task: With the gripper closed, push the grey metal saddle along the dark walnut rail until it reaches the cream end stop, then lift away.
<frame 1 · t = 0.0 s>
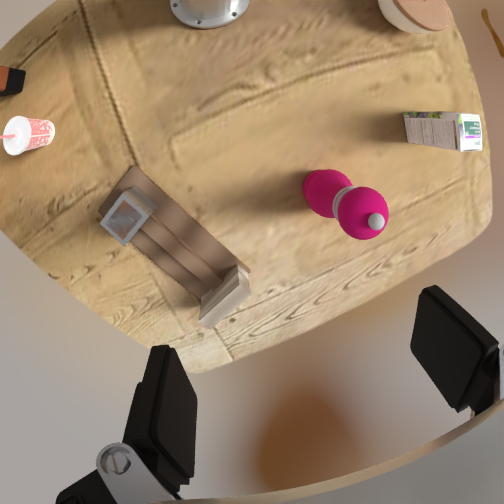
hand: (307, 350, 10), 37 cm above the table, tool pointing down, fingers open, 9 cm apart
pepper mill: (320, 188, 46), on the table
lidded bowl: (395, 13, 33), on the table
syrup box: (416, 127, 42), on the table
battery: (14, 83, 32), on the table
beverage cup: (45, 133, 37), on the table
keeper: (129, 214, 40), point 4 cm above the table, slide at 0.0 cm
rail: (173, 239, 47), on the table
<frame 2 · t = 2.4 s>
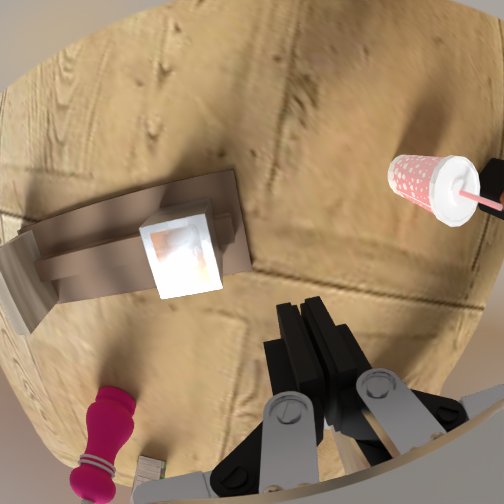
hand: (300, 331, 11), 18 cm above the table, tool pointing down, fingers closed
pepper mill: (117, 398, 36), on the table
syrup box: (150, 461, 45), on the table
battery: (485, 183, 28), on the table
beverage cup: (403, 175, 27), on the table
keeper: (186, 244, 24), point 4 cm above the table, slide at 0.0 cm
rail: (119, 246, 28), on the table
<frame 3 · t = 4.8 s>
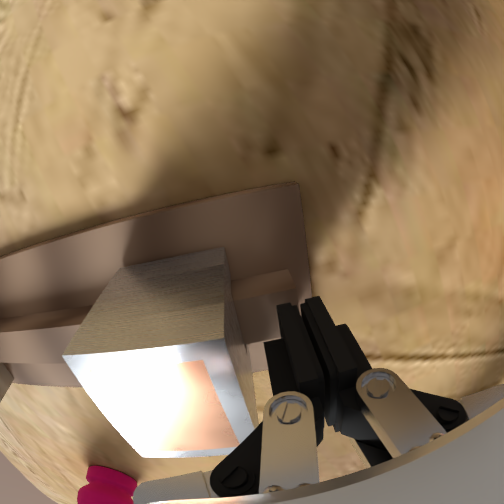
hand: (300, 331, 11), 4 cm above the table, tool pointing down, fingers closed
pepper mill: (112, 475, 23), on the table
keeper: (179, 356, 11), point 4 cm above the table, slide at 1.1 cm, touching gripper
rail: (81, 318, 14), on the table
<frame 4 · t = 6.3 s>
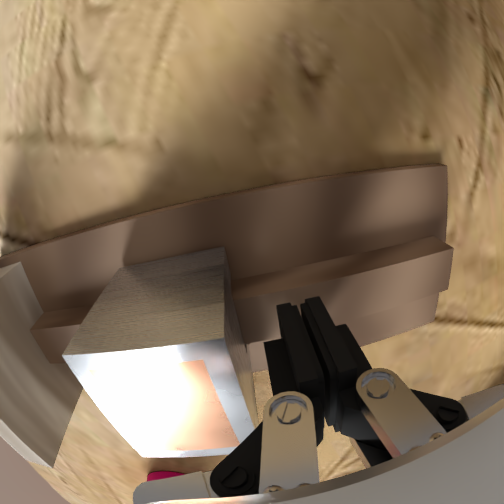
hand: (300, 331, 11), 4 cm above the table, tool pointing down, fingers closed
pepper mill: (175, 479, 23), on the table
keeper: (179, 356, 11), point 4 cm above the table, slide at 9.5 cm, touching gripper
rail: (217, 296, 15), on the table
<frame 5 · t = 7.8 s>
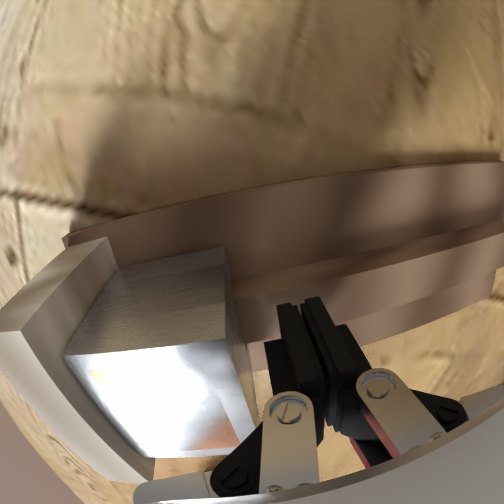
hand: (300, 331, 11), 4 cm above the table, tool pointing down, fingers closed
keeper: (180, 356, 11), point 4 cm above the table, slide at 15.7 cm, touching gripper
rail: (336, 271, 15), on the table
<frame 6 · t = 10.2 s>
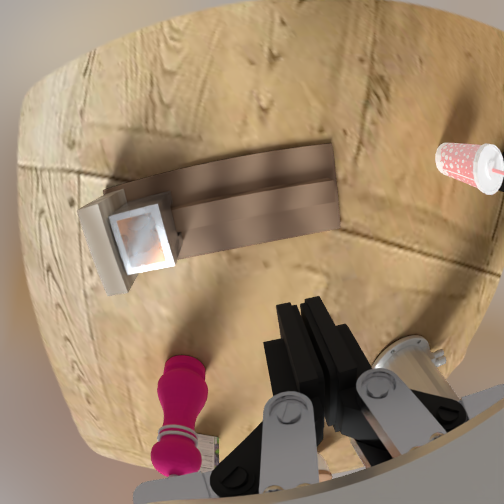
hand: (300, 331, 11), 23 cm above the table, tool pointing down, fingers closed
pepper mill: (185, 368, 41), on the table
lidded bowl: (297, 453, 55), on the table
syrup box: (201, 439, 49), on the table
battery: (500, 168, 33), on the table
beverage cup: (445, 158, 32), on the table
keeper: (148, 230, 28), point 4 cm above the table, slide at 15.6 cm
rail: (222, 205, 32), on the table
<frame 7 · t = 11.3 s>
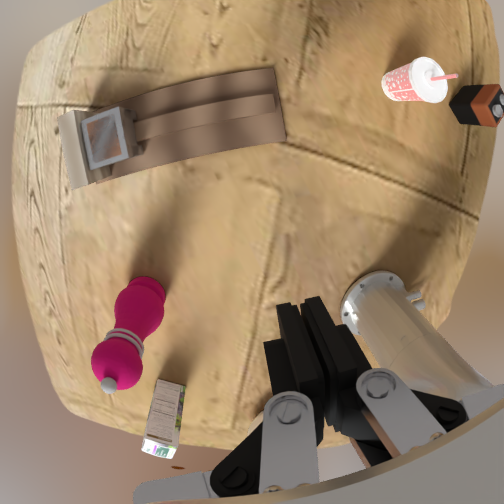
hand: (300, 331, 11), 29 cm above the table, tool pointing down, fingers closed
pepper mill: (146, 293, 42), on the table
syrup box: (168, 389, 51), on the table
battery: (461, 104, 34), on the table
beverage cup: (393, 86, 33), on the table
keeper: (113, 138, 30), point 4 cm above the table, slide at 15.6 cm
rail: (178, 122, 33), on the table
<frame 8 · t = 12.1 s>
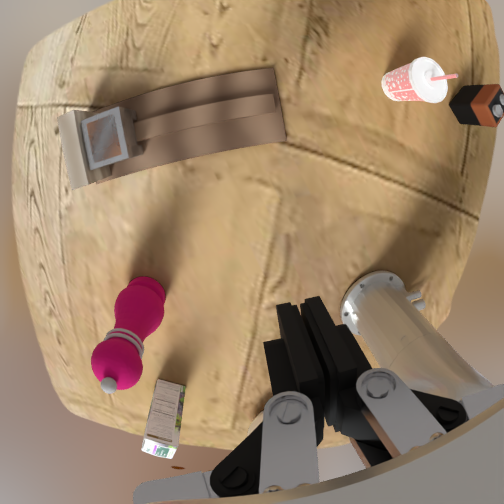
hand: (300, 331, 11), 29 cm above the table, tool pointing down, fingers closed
pepper mill: (146, 293, 42), on the table
syrup box: (168, 389, 51), on the table
battery: (461, 104, 34), on the table
beverage cup: (393, 86, 33), on the table
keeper: (113, 138, 30), point 4 cm above the table, slide at 15.6 cm
rail: (178, 122, 33), on the table
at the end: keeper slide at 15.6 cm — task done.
